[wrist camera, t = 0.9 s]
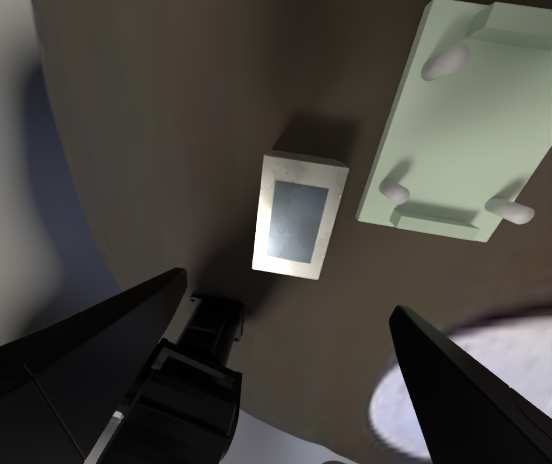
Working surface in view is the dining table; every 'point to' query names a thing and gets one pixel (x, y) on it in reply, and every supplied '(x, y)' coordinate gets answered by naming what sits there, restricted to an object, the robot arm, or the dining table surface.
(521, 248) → the dining table surface
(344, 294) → the dining table surface
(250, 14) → the dining table surface
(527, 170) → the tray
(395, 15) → the dining table surface
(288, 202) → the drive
